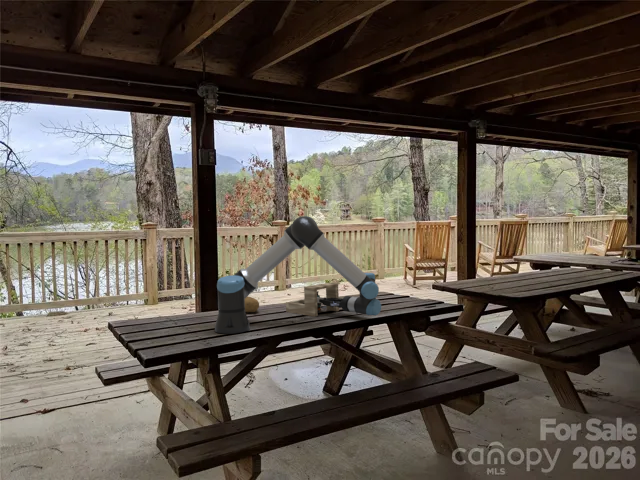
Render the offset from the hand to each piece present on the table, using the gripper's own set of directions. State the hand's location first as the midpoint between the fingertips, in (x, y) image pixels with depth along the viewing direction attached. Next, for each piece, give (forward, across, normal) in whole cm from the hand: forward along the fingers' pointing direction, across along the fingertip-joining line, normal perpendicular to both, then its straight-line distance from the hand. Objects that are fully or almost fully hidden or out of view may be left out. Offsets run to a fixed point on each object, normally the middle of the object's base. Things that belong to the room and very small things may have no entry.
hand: (316, 299), depth 241 cm
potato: (+29, -21, -7) cm, 36 cm away
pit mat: (+3, +14, -6) cm, 16 cm away
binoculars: (+4, 0, -7) cm, 8 cm away
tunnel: (+3, 0, -6) cm, 7 cm away
